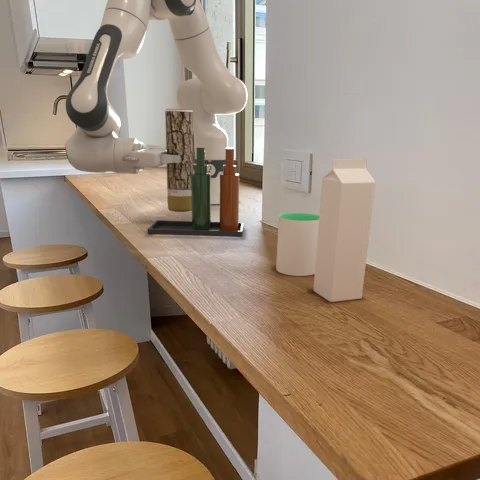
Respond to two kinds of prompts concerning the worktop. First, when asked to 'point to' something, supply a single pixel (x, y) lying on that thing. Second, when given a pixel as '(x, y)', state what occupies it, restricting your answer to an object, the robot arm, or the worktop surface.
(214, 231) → the tray
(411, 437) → the worktop surface
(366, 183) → the milk
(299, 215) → the mug
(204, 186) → the green bottle
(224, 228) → the amber bottle
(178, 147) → the paper tube
